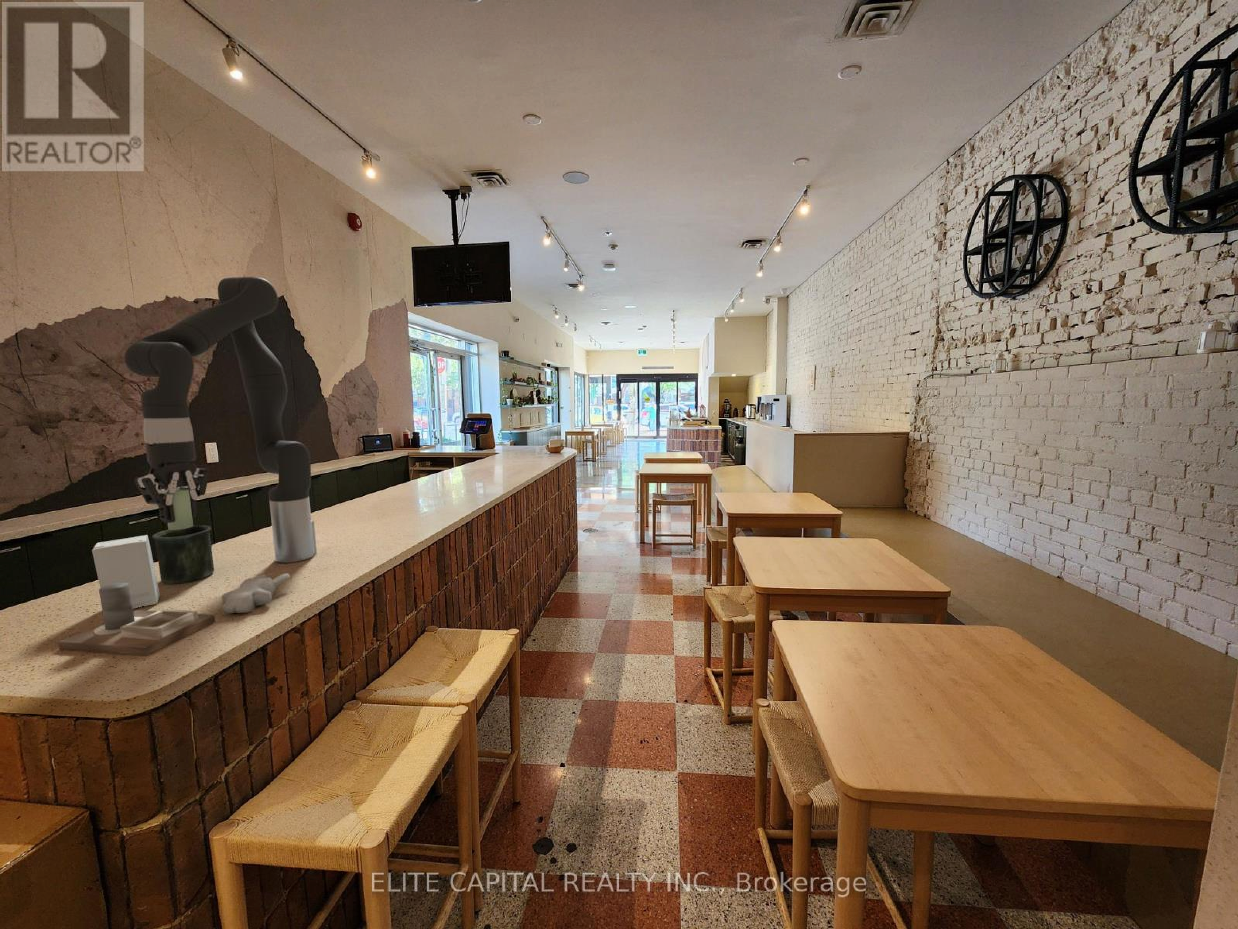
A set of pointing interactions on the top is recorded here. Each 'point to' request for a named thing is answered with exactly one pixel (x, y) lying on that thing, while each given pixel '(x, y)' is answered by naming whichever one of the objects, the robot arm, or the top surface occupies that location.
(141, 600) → the skincare box
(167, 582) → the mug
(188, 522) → the green pin
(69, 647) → the board
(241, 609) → the bunny figurine
